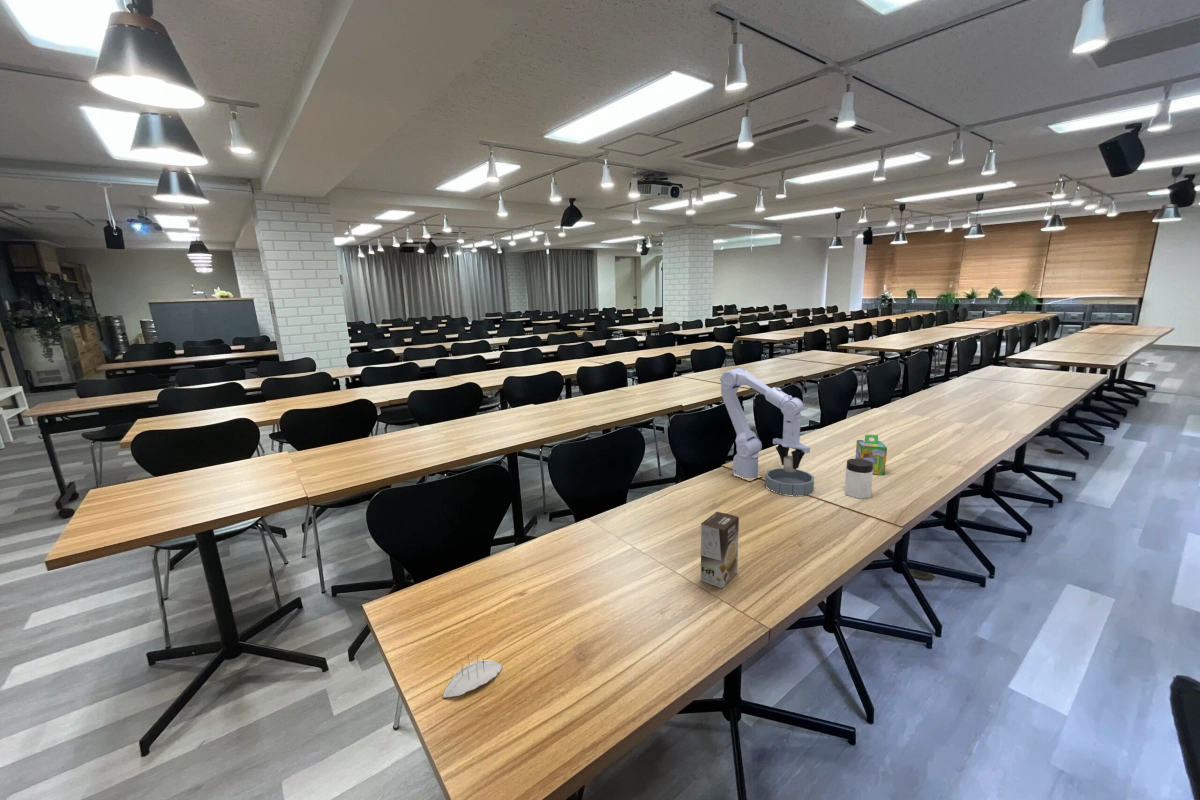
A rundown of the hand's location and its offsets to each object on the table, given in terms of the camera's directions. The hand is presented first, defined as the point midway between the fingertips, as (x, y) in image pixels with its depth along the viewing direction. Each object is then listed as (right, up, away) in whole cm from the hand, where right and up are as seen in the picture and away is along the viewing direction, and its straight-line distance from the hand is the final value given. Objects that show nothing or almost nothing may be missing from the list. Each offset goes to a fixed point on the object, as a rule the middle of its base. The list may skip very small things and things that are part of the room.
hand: (789, 466), depth 175 cm
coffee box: (-40, -22, -52) cm, 69 cm away
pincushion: (-96, -31, -83) cm, 130 cm away
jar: (+22, -9, -6) cm, 24 cm away
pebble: (0, -1, 0) cm, 1 cm away
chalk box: (+38, -4, +14) cm, 41 cm away
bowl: (0, -8, +2) cm, 8 cm away
